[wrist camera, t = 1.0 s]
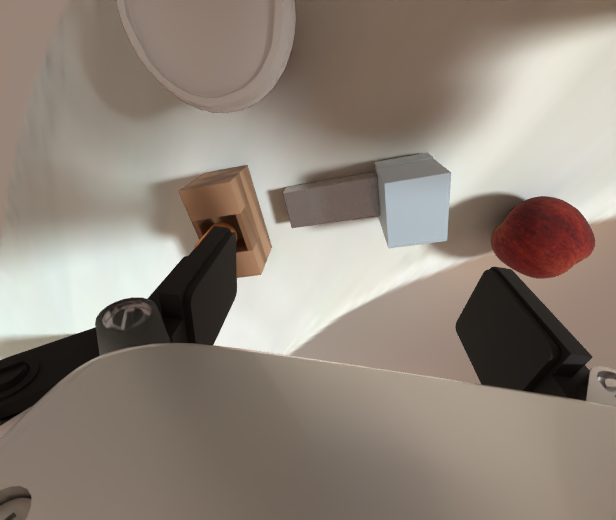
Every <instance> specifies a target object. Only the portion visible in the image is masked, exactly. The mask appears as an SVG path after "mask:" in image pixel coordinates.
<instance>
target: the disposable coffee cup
mask: <svg viewBox="0 0 616 520" xmlns="http://www.w3.org/2000/svg"><path fill="white" fill-rule="evenodd" d="M116 2H117V8H118V11H119V14H120V17H121V21H122V24H123V27H124V29H125V32H126V34H127V36H128V39H129V41H130V43H131V44H132V46H133V48H134V50H135V52H136V53H137V55H138V57H139V58H140V60H141V61H142V62H143V64H144V65H145V66H146V68H147V69H148V70H149V71H150V72H151V73H152V74H153V75H154V77H155V78H156V79H157V80H158V81H159V82H160V83H161V84H162V85H163V86H164V87H165V88H166V89H167V90H169V91H170V92H171V93H172V94H173V95H175V96H176V97H177V98H179V99H181V100H182V101H184V102H185V103H187V104H189V105H191V106H194V107H196V108H198V109H201V110H205V111H209V112H217V113H230V112H235V111H240V110H243V109H245V108H248V107H250V106H252V105H254V104H255V103H257V102H258V101H260V100H261V99H262V98H263V97H265V96H266V95H267V94H268V93H269V92H270V91H271V90H272V89H273V87H274V86H275V84H276V83H277V81H278V79H279V78H280V76H281V75H282V73H283V72H284V70H285V67H286V65H287V62H288V59H289V57H290V53H291V49H292V45H293V41H294V34H295V20H296V13H295V0H116Z"/></svg>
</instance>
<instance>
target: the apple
mask: <svg viewBox="0 0 616 520" xmlns="http://www.w3.org/2000/svg"><path fill="white" fill-rule="evenodd" d="M491 245H492V249H493V251H494V253H495V254H496V256H497V257H498V258H499V259H500V260H501V261H502V262H503V263H505V264H506V265H507V266H509V267H511V268H512V269H514V270H516V271H517V272H520V273H522V274H524V275H526V276H529V277H533V278H551V277H555V276H559V275H561V274H563V273H565V272H566V271H568V270H569V269H570V268H571V267H573V265H574V264H576V263H578V262H580V261H581V260H583V259H585V258H587V257H588V256H589V255H590V254H591V253H592V251H593V249H594V247H595V238H594V234H593V232H592V229H591V227H590V226H589V224H588V222H587V221H586V219H585V218H584V216H583V215H582V214H581V213H580V212H579V210H577V209H576V208H575V207H573V206H572V205H570V204H569V203H567V202H565V201H563V200H560V199H557V198H553V197H545V196H541V197H534V198H531V199H527V200H525V201H523V202H522V203H520V204H519V205H517V206H516V207H515V208H513V209H511V211H510V213H509V214H508V216H507V217H506V219H505V220H504V221H503V222H502V223H501V224H500V225H499V226H498V227H497V228H496V229H495V230H494V232H493V234H492V237H491Z"/></svg>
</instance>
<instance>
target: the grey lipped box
mask: <svg viewBox="0 0 616 520" xmlns="http://www.w3.org/2000/svg"><path fill="white" fill-rule="evenodd" d="M375 171H376V173H377V176H378V189H379V203H380V215H379V221H380V224H381V227H382V229H383V233H384V236H385V239H386V242H387V245H388V248H395V247H403V246H411V245H419V244H427V243H434V242H442V241H447V236H448V218H449V200H450V182H451V172H450V171H448V170H447V169H446V168H445V167H443V166H442V165H441V164H440V163H438V162H437V161H436V160H434V159H433V157H432V156H431V155H430V154H428V153H423V154H417V155H412V156H406V157H400V158H395V159H389V160H384V161H378V162H375Z"/></svg>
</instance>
